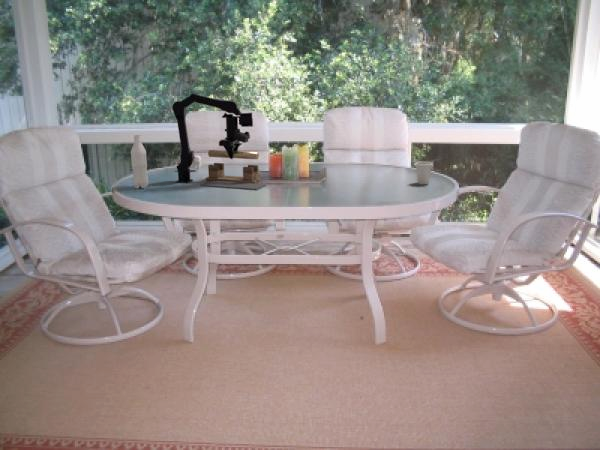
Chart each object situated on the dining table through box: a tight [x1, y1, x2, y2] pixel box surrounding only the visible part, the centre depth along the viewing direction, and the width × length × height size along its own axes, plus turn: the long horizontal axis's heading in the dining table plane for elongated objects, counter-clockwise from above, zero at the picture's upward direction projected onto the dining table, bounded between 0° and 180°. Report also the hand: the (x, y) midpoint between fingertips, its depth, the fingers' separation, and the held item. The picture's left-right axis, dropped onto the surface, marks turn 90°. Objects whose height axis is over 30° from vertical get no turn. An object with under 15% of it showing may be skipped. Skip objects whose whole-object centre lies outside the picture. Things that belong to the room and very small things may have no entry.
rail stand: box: [205, 162, 263, 184], centre depth 300 cm, size 9×27×8 cm, turn 71°
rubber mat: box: [200, 181, 267, 191], centre depth 290 cm, size 11×30×1 cm, turn 71°
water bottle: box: [130, 134, 149, 190], centre depth 283 cm, size 7×7×25 cm
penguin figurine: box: [190, 154, 202, 172], centre depth 329 cm, size 6×8×12 cm
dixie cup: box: [415, 161, 433, 185], centre depth 293 cm, size 8×8×10 cm
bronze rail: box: [207, 149, 260, 160], centre depth 298 cm, size 4×26×4 cm, turn 71°
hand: (233, 158), depth 298 cm, fingers closed on bronze rail, 3 cm apart
